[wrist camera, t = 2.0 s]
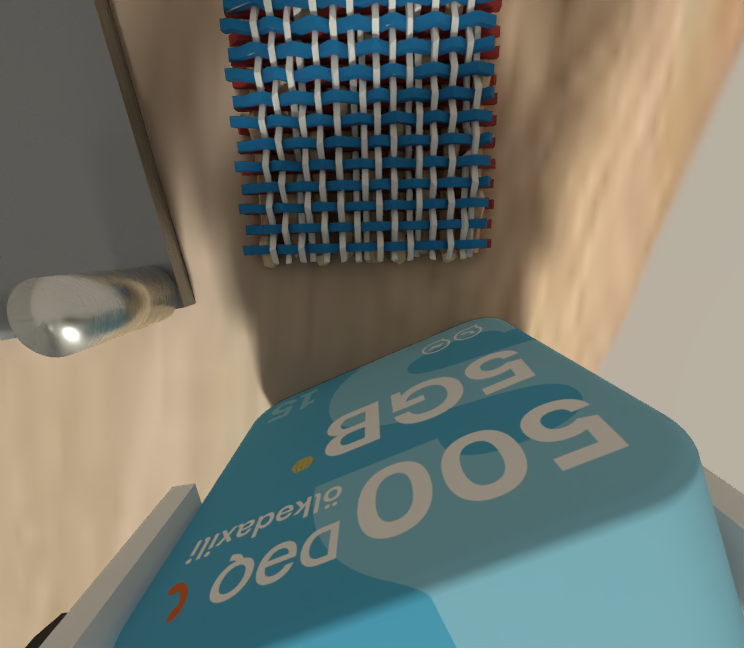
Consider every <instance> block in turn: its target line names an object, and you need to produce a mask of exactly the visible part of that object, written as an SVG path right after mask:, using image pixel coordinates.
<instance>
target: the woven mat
mask: <svg viewBox="0 0 744 648" xmlns="http://www.w3.org/2000/svg"><path fill="white" fill-rule="evenodd" d="M501 6H502V0H223V8H224V13H225V16H226V18H223V19H219V20H220V28H221V31H222V32H223V33H225V34H228V33H232V34H230V35H229V42H230V46H236V45H241V46H239V47H237V48H228V57H229V62H231V66H232V67H234V68H227V69H225V76H226V80H227V81H229V82H232V85H233V88H234V89H245V90H249V94H246V95H243V96H232V97H233V106H234V109H235V111H237V112H250V114H249V117H245V116H230V124H231V127H232V128H238V130H239V134H241V135H248V136H251V139H252V140H249V141H241V142H237V146H238V153H240V154H255V161H256V162H245V161H239V162H234V164H235V172H242V175H257V183H256V184H246V185H242V194H243V195H259V204H239V211H240V214H245V215H261V225H252V226H246V234H247V235H261V237H260V242H259V244H260V245H257V246H243V250H244V255H262V259H263V262H264V266H266V267H270V268H273V267H275V266H276V265H278V264H279V260H278V256H277V254H286V264H291V263H292V254H294V255H295V258H300V261H301V262H303V263H307V261H306V255H305V253H310V262H316V261H317V263H318V265H319V266H324V265H328V263H329V262H330V256H331V253H332V252H340V256H341V263H342V262H346V261H347V258H349V257H351V256H353V253H354V252H355V253H356V262H357V263H359V262H362V251H364V257H365V260H367V263H380V262H382V261H383V260H384V251H391V256H390V260H391V261H392V262H394V263H396V264H398V265H399V264H401V263H403V262H405V259H406V251H407V250H408V251H407V261H409V260H413V255H414V257H419V256H420V254H427V252H428V250H429V255H430V259H433V260H436V255H435V250H441V255H442V259H443V262H453V260H454V259H455V258H456V257H457V252H456V249H460V258H461V260H463V259H466V257H472V253H478V250H479V248H491V239H479V238H480V228H491V220H492V219H488V220H487V218H484V219H482V217H483V213H484V209H494V200H493V199H492V200H489V198H485V196H484V192H483V188H493V181H494V179H491V178H490V177H489V176H484V177H482V169H495V159H490V156H486V155H483V149H486V148H494V146H495V137H494V138H492V135H493V134H492V133H491V132H487V133H483V131H484V127H486V126H495V125H496V117H497V115H492V111H487V110H484V106H485V105H495V104H496V103H497V93H494V87H493V86H492V85H495V84H496V75H495V74H494V64H491V63H488V61H487V60H489V59H497V58H498V57H499V47H500V46H494V45H495V38H497V37H500V26H497V25H496V15H494V14H491V13H492V12H499V11H500V8H501ZM379 17H380V18H379ZM239 19H243V20H239ZM290 21H293V22H290ZM354 30H357V31H354ZM439 39H442V41H439ZM319 42H324V43H322V44H320V45H319ZM264 43H268V45H267V44H264ZM274 43H277V46H274ZM346 43H348V45H346ZM243 44H244V45H243ZM460 61H465V62H464V64H460V65H458V62H460ZM380 64H384V65H382V66H380ZM320 65H331V69H330V68H327V67H323V66H320ZM348 65H349V66H348ZM404 65H405V66H404ZM293 66H297V71H294V68H293ZM243 67H247V70H245V69H238V68H243ZM263 67H266V68H264V69H263ZM304 67H305V68H304ZM439 84H442V89H440V90H438V85H439ZM404 85H406V89H403V86H404ZM413 85H415V88H414V87H413ZM430 85H431V90H430ZM457 85H461V86H463V87H459V86H457ZM380 86H388V89H386V88H380ZM349 87H350V91H349ZM357 87H359V92H357ZM470 87H471V89H470ZM322 88H333V89H332V90H329V91H326V92H324V93H322ZM265 90H267V91H272V93H270V92H266V91H265ZM278 94H279V95H278ZM457 106H463V111H460V112H457ZM404 107H405V111H404ZM412 107H415V114H413V113H412ZM430 107H431V108H430ZM437 107H441V110H437ZM381 108H388V113H384V114H381ZM267 111H274V112H275V115H269V116H267ZM298 111H299V118H298ZM306 111H307V115H306ZM357 111H360V112H359V113H358V112H357ZM323 112H327V113H331V114H334V116H331V115H326V114H323ZM350 113H351V114H350ZM459 127H462V129H463V132H464V134H462V133H459V132H458V128H459ZM437 128H441V135H438V134H437ZM324 131H335V136H332V137H328V138H325V136H324ZM350 131H351V133H352V137H351V133H350ZM358 131H361V138H358ZM381 131H382V132H389V135H385V134H383V135H381ZM412 131H415V134H412V133H411V132H412ZM299 132H301V137H300V136H299ZM307 132H308V133H309V136H307ZM282 134H283V140H282ZM430 134H431V136H430ZM274 135H275V138H274V139H273V138H269V136H274ZM412 150H415V158H413V159H411V157H412ZM463 150H466V153H465V154H464V155H463V156H459V157H458V154H459V151H463ZM381 151H389V157H386V158H382V152H381ZM404 151H405V158H404ZM437 151H442V156H436V155H437ZM351 152H353V158H352V159H351ZM359 152H361V156H362V158H359ZM333 153H335V160H327V159H325V155H328V154H333ZM270 154H278V159H279V160H273V161H271V159H270ZM301 155H302V157H301ZM308 156H309V160H308ZM457 169H462V177H455V173H456V170H457ZM436 170H441V175H440V179H437V175H436ZM411 171H415V178H412V173H411ZM404 172H405V179H404ZM326 173H336V176H337V180H334V181H329V182H326ZM352 173H353V181H352ZM383 173H389V179H382V174H383ZM310 174H311V181H310ZM360 174H362V181H360ZM272 175H279V178H278V182H272ZM303 175H304V181H303ZM285 176H286V183H285ZM455 190H461V199H455ZM388 191H389V195H390V200H383V199H382V192H388ZM436 191H440V199H436ZM353 192H354V202H353ZM360 192H362V196H363V201H360ZM404 192H406V200H404ZM413 192H416V198H415V200H413ZM311 193H312V199H313V202H311ZM327 193H337V202H327ZM274 194H281V199H282V203H274ZM303 194H305V203H304V197H303ZM436 210H440V220H437V218H436ZM455 210H461V219H454V218H455ZM467 210H468V213H467ZM404 211H406V216H407V221H404ZM413 211H416V221H413ZM361 212H363V222H361ZM383 212H390V221H383ZM328 213H338V219H339V222H336V223H329V221H328ZM312 214H313V215H314V221H313V216H312ZM275 215H283V222H282V224H279V225H276V220H275ZM305 215H306V219H307V223H305ZM429 216H430V221H429ZM288 222H289V224H288ZM454 229H461V232H460V240H454ZM413 230H415V241H414V236H413ZM428 230H430V233H429V241H428ZM437 230H440V240H435V238H436V231H437ZM383 231H390V240H391V242H384V239H383ZM405 231H407V239H408V241H406V234H405ZM361 232H364V242H361ZM306 233H308V236H309V244H305V237H306ZM329 233H339V241H340V243H330V240H329ZM277 234H283V238H284V242H285V245H276V243H277ZM289 234H291V240H290V235H289ZM291 241H292V244H291ZM465 249H466V252H465Z"/></svg>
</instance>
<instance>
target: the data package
mask: <svg viewBox="0 0 744 648" xmlns="http://www.w3.org/2000/svg"><path fill="white" fill-rule="evenodd" d="M114 648H744V616H743V613H742V609H741V605H740V602H739V598H738V595H737V591H736V587H735V584H734V580H733V576H732V573H731V569H730V566H729V562H728V558H727V555H726V551H725V547H724V544H723V540H722V537H721V533H720V529H719V526H718V522H717V518H716V515H715V511H714V508H713V504H712V500H711V497H710V493H709V489H708V486H707V482H706V479H705V475H704V471H703V468H702V464H701V461H700V457H699V453H698V450H697V448H696V446H695V444H694V442H693V441H692V439H691V438H690V436H689V435H688V434H687V433H686V432H685V430H684V429H683V428H681V427H680V426H679V425H678V424H677V423H676V422H674V421H673V420H671V419H670V418H668V417H667V416H666V415H664V414H662V413H660V412H659V411H657V410H655V409H654V408H652V407H650V406H649V405H647V404H645V403H643V402H642V401H640V400H638V399H636V398H635V397H633V396H631V395H630V394H628V393H626V392H625V391H623V390H621V389H619V388H618V387H616V386H614V385H613V384H611V383H609V382H608V381H606V380H604V379H602V378H601V377H599V376H597V375H596V374H594V373H592V372H590V371H589V370H587V369H585V368H584V367H582V366H580V365H578V364H577V363H575V362H573V361H572V360H570V359H568V358H567V357H565V356H563V355H561V354H560V353H558V352H556V351H555V350H553V349H551V348H549V347H548V346H546V345H544V344H543V343H541V342H539V341H537V340H536V339H534V338H532V337H531V336H529V335H527V334H526V333H524V332H522V331H520V330H519V329H517V328H515V327H514V326H512V325H510V324H508V323H507V322H505V321H503V320H501V319H498V318H481V319H476V320H472V321H469V322H465V323H463V324H460V325H458V326H455V327H453V328H450V329H448V330H446V331H443V332H441V333H439V334H436V335H434V336H432V337H429V338H427V339H425V340H422V341H420V342H418V343H415V344H413V345H411V346H408V347H406V348H404V349H401V350H399V351H397V352H394V353H392V354H390V355H387V356H385V357H383V358H380V359H378V360H376V361H373V362H371V363H368V364H366V365H364V366H361V367H359V368H357V369H354V370H352V371H350V372H347V373H345V374H343V375H340V376H338V377H336V378H333V379H331V380H329V381H326V382H324V383H322V384H319V385H317V386H315V387H312V388H310V389H308V390H305V391H303V392H301V393H298V394H296V395H294V396H291V397H289V398H287V399H285V400H283V401H281V402H279V403H278V404H276V405H274V406H273V407H271V408H270V409H269V410H267V411H266V412H265V413H263V414H262V415H261V416H260V417H259V418H258V419H257V420H256V421H255V423H254V424H253V426H252V427H251V429H250V430H249V432H248V433H247V435H246V436H245V438H244V440H243V441H242V443H241V444H240V446H239V447H238V449H237V450H236V452H235V454H234V455H233V457H232V458H231V460H230V461H229V463H228V464H227V466H226V468H225V469H224V471H223V472H222V474H221V475H220V477H219V478H218V480H217V482H216V483H215V485H214V486H213V488H212V489H211V491H210V492H209V494H208V496H207V497H206V499H205V500H204V502H203V503H202V505H201V506H200V508H199V510H198V511H197V513H196V514H195V516H194V517H193V519H192V520H191V522H190V524H189V525H188V527H187V528H186V530H185V531H184V533H183V534H182V536H181V538H180V539H179V541H178V542H177V544H176V545H175V547H174V548H173V550H172V552H171V553H170V555H169V556H168V558H167V559H166V561H165V562H164V564H163V566H162V567H161V569H160V570H159V572H158V573H157V575H156V576H155V578H154V580H153V581H152V583H151V584H150V586H149V587H148V589H147V590H146V592H145V594H144V595H143V597H142V598H141V600H140V601H139V603H138V604H137V606H136V608H135V609H134V611H133V612H132V614H131V615H130V617H129V618H128V620H127V622H126V623H125V625H124V627H123V628H122V630H121V632H120V634H119V636H118V638H117V640H116V643H115V645H114Z"/></svg>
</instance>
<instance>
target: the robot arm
mask: <svg viewBox="0 0 744 648" xmlns="http://www.w3.org/2000/svg"><path fill="white" fill-rule="evenodd" d="M702 468H703V471H704V475H705V479H706V482H707V486H708V489H709V493H710V497H711V500H712V504H713V508H714V511H715V515H716V518H717V522H718V526H719V529H720V533H721V537H722V540H723V544H724V547H725V551H726V555H727V558H728V562H729V566H730V569H731V573H732V576H733V580H734V584H735V587H736V591H737V595H738V598H739V602H740V605H741V609H742V613H743V616H744V495H743V494H742V493H741V492H739V491H738V490H736V489H735V488H733V487H732V486H731V485H729V484H728V483H726V482H725V481H724V480H722V479H720V478H719V477H717V476H716V475H715V474H713V473H712V472H710V471H709V470H708V469H706V468H705V467H703V466H702ZM201 505H202V504H201V501H200V497H199V494H198V491H197V488H196V485H195V484H190V485H183V486H176V487H172V488H171V489H170V491H169V492H168V493H167V494H166V495H165V497H164V498H163V499H162V500H161V501H160V503H159V504H158V505H157V506H156V507H155V509H154V510H153V511H152V512H151V513H150V515H149V516H148V517H147V518H146V519H145V521H144V522H143V523H142V524H141V525H140V527H139V528H138V529H137V530H136V531H135V533H134V534H133V535H132V536H131V537H130V539H129V540H128V541H127V542H126V543H125V545H124V546H123V547H122V548H121V549H120V551H119V552H118V553H117V554H116V555H115V557H114V558H113V559H112V560H111V561H110V563H109V564H108V565H107V566H106V567H105V569H104V570H103V571H102V572H101V573H100V575H99V576H98V577H97V578H96V579H95V581H94V582H93V583H92V584H91V585H90V587H89V588H88V589H87V590H86V591H85V593H84V594H83V595H82V596H81V598H80V599H79V600H78V601H77V602H76V604H75V605H74V606H73V607H72V608H71V610H70V611H69V612H68V613H62V614H61V615H60V616H58V617H57V618H56V619H55V620H54V621H53V622H51V623H50V624H49V625H48V626H47V627H46V628H44V629H43V630H42V631H41V632H40V633H39V634H37V635H36V636H35V637H34V638H33V639H32V640H31V642H30V643H29V644H28V645H27V646H26V647H25V648H114V645H115V643H116V640H117V638H118V636H119V634H120V632H121V630H122V628H123V627H124V625H125V623H126V622H127V620H128V618H129V617H130V615H131V614H132V612H133V611H134V609H135V608H136V606H137V604H138V603H139V601H140V600H141V598H142V597H143V595H144V594H145V592H146V590H147V589H148V587H149V586H150V584H151V583H152V581H153V580H154V578H155V576H156V575H157V573H158V572H159V570H160V569H161V567H162V566H163V564H164V562H165V561H166V559H167V558H168V556H169V555H170V553H171V552H172V550H173V548H174V547H175V545H176V544H177V542H178V541H179V539H180V538H181V536H182V534H183V533H184V531H185V530H186V528H187V527H188V525H189V524H190V522H191V520H192V519H193V517H194V516H195V514H196V513H197V511H198V510H199V508H200V506H201Z"/></svg>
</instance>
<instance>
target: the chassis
mask: <svg viewBox="0 0 744 648" xmlns="http://www.w3.org/2000/svg"><path fill="white" fill-rule="evenodd" d="M193 304H195V301H194V297H193V294H192V290H191V287H190V283H189V280H188V276H187V273H186V269H185V266H184V262H183V259H182V255H181V252H180V248H179V245H178V242H177V238H176V235H175V231H174V228H173V224H172V221H171V217H170V214H169V210H168V207H167V203H166V200H165V196H164V193H163V190H162V186H161V183H160V179H159V176H158V172H157V169H156V165H155V162H154V158H153V155H152V151H151V148H150V144H149V141H148V137H147V134H146V131H145V127H144V124H143V120H142V117H141V113H140V110H139V106H138V103H137V99H136V96H135V92H134V89H133V85H132V82H131V79H130V75H129V72H128V68H127V65H126V61H125V58H124V54H123V51H122V47H121V44H120V40H119V37H118V33H117V30H116V26H115V23H114V20H113V16H112V13H111V9H110V6H109V2H108V0H0V340H5V339H10V338H16V337H17V338H18V339H19V340H20V341H21V342H22V343H23V344H24V345H25V346H26V347H28V348H29V349H31V350H32V351H34V352H36V353H39V354H41V355H44V356H49V357H64V356H68V355H71V354H74V353H76V352H79V351H82V350H84V349H87V348H90V347H92V346H95V345H98V344H100V343H103V342H106V341H108V340H111V339H114V338H116V337H119V336H122V335H124V334H127V333H130V332H132V331H135V330H138V329H140V328H143V327H146V326H148V325H151V324H154V323H156V322H159V321H162V320H164V319H166V318H168V317H169V316H170V315H171V314H172V313H173V312H174V310H175V309H178V308H183V307H187V306H190V305H193Z"/></svg>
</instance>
